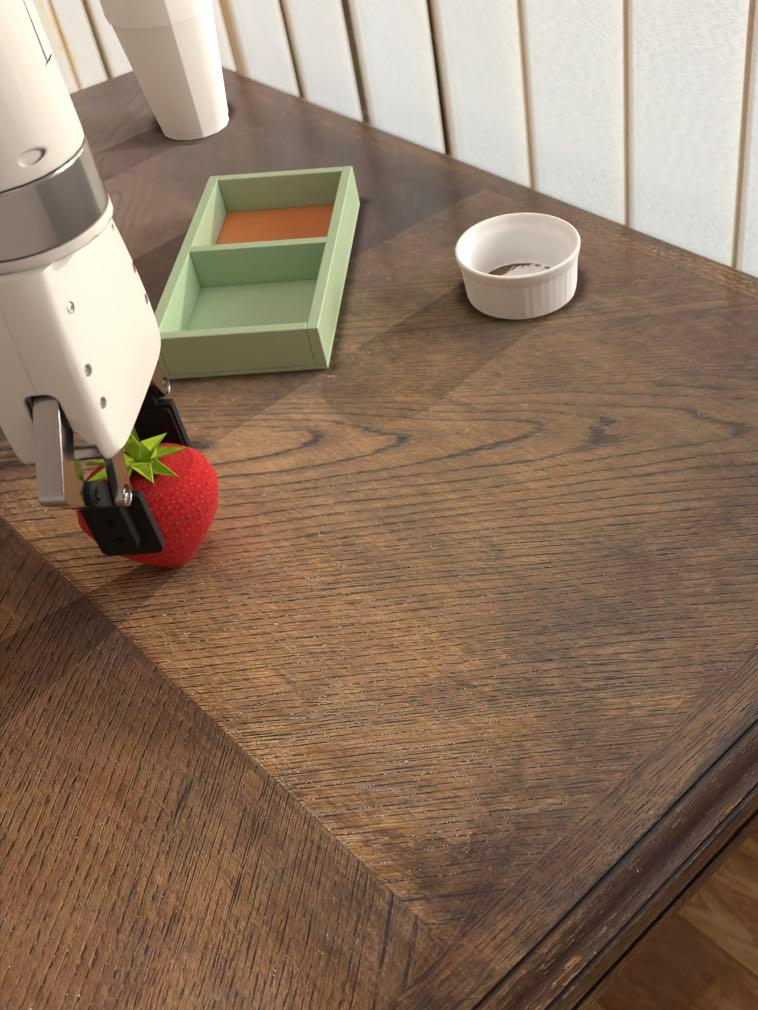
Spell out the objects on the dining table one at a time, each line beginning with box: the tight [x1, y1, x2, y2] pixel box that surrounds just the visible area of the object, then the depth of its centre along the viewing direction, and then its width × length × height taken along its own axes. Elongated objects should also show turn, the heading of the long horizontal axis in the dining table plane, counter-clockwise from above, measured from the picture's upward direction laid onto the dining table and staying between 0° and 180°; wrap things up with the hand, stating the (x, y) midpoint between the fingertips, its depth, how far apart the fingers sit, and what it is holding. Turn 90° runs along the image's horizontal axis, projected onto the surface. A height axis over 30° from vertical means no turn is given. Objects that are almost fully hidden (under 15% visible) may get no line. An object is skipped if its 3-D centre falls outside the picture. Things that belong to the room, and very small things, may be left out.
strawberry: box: [75, 426, 219, 569], centre depth 58 cm, size 6×8×10 cm
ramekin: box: [454, 212, 581, 320], centre depth 76 cm, size 9×9×4 cm
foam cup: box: [99, 0, 230, 141], centre depth 97 cm, size 10×9×13 cm
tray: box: [154, 165, 361, 380], centre depth 79 cm, size 12×22×4 cm, turn 1°
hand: (150, 500), depth 58 cm, fingers closed on strawberry, 6 cm apart
